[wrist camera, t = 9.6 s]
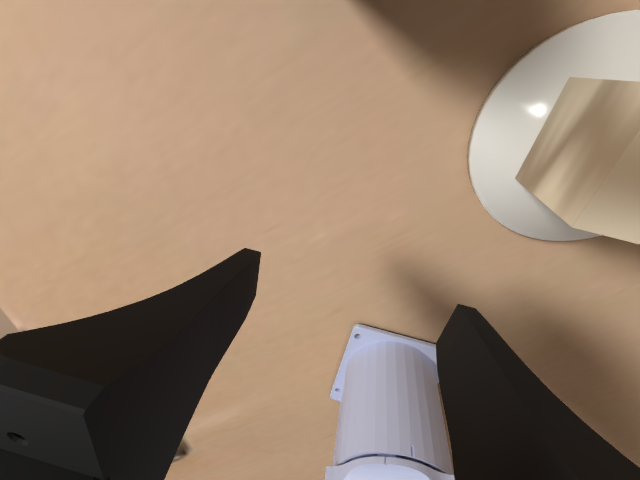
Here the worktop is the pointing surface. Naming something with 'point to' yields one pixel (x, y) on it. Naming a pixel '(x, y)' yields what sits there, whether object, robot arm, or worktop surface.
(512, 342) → the worktop surface
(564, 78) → the coaster
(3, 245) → the worktop surface
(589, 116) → the beech block
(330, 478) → the robot arm
